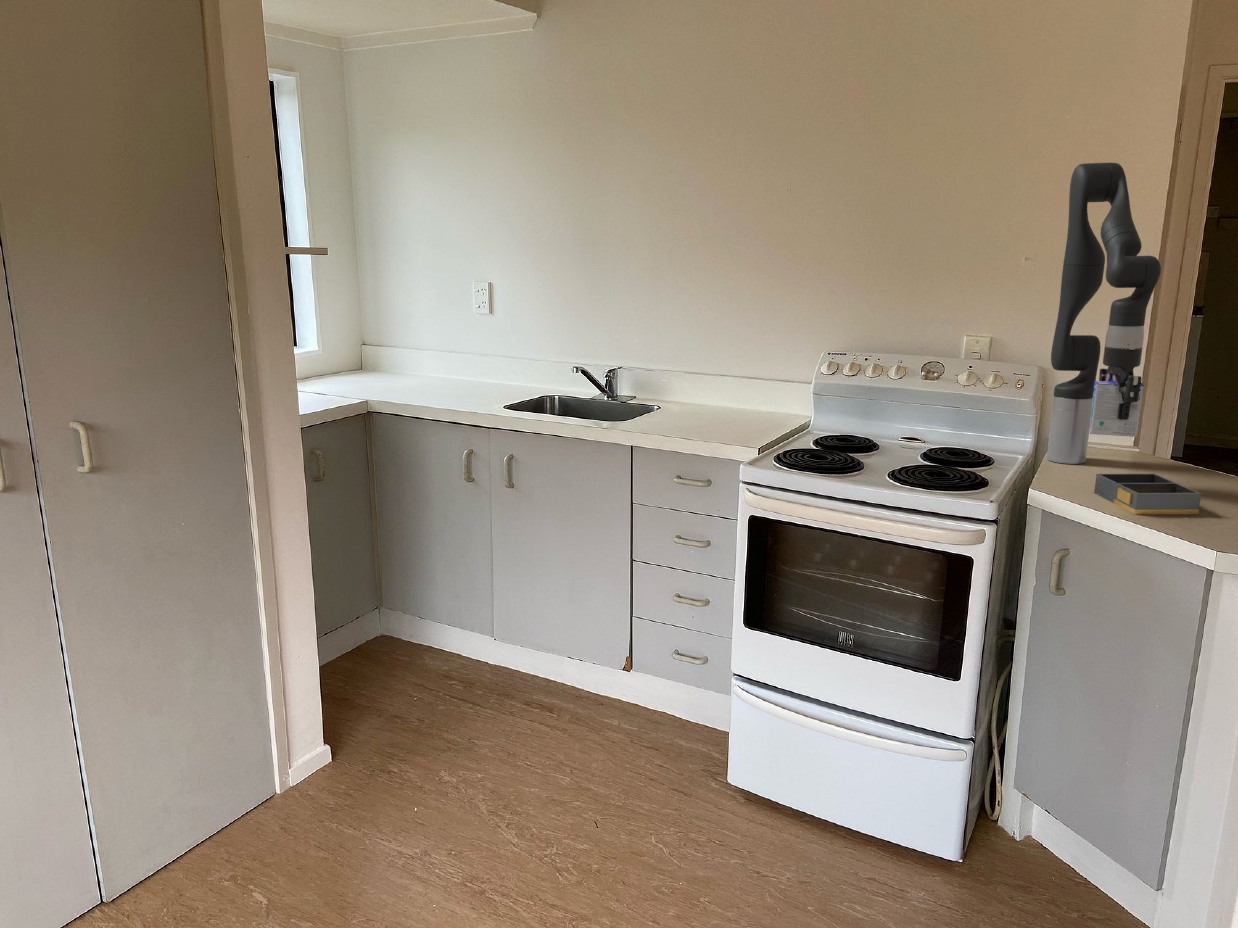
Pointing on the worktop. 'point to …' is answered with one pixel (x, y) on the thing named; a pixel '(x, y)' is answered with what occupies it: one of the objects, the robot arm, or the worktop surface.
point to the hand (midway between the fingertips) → (1114, 416)
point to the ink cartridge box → (1113, 411)
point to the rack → (1147, 494)
